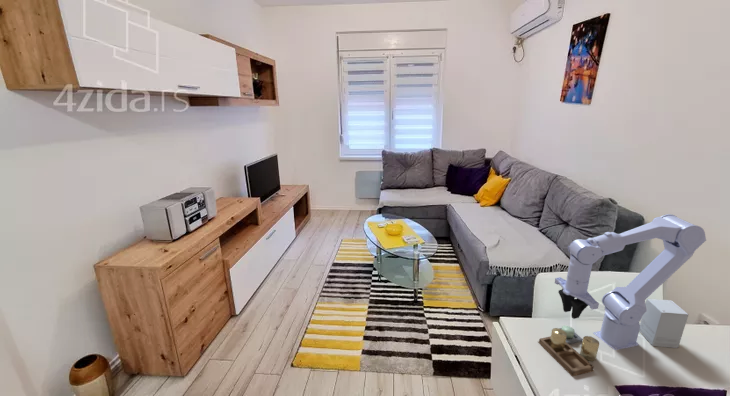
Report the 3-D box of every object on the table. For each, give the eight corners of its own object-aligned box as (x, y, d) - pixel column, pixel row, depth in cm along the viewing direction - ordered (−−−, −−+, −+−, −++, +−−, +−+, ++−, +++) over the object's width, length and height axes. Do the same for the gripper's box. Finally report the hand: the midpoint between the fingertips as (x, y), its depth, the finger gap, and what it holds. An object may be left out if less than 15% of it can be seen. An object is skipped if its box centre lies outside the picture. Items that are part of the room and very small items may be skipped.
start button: (567, 329, 106) (568, 324, 106) (576, 337, 103) (577, 332, 102) (558, 331, 106) (559, 326, 105) (566, 339, 102) (567, 334, 102)
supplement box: (679, 348, 99) (690, 314, 95) (651, 346, 100) (661, 312, 96) (663, 332, 106) (672, 300, 102) (637, 329, 107) (646, 297, 103)
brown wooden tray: (557, 338, 105) (558, 334, 104) (594, 372, 92) (595, 367, 91) (537, 343, 103) (537, 338, 103) (571, 378, 90) (572, 372, 90)
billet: (587, 350, 99) (590, 335, 97) (599, 360, 95) (602, 344, 93) (576, 353, 98) (579, 337, 96) (587, 363, 94) (591, 347, 93)
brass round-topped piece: (557, 342, 102) (559, 327, 101) (567, 351, 99) (570, 335, 97) (546, 344, 102) (548, 329, 100) (555, 354, 98) (558, 338, 96)
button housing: (567, 330, 108) (567, 326, 108) (581, 342, 103) (582, 339, 102) (551, 333, 107) (552, 329, 107) (566, 346, 101) (566, 342, 101)
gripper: (549, 267, 104) (543, 302, 108) (587, 292, 90) (579, 331, 94) (567, 264, 105) (561, 299, 109) (608, 289, 92) (599, 327, 96)
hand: (571, 314), depth 102 cm, fingers open, 3 cm apart
